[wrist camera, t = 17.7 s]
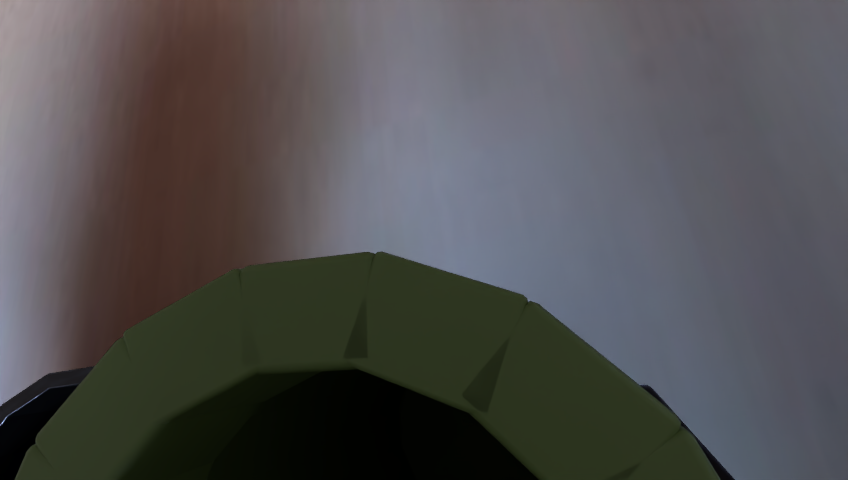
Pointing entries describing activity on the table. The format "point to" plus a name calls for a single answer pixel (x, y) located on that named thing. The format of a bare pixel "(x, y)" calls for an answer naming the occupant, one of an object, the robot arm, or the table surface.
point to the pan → (32, 415)
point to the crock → (359, 388)
